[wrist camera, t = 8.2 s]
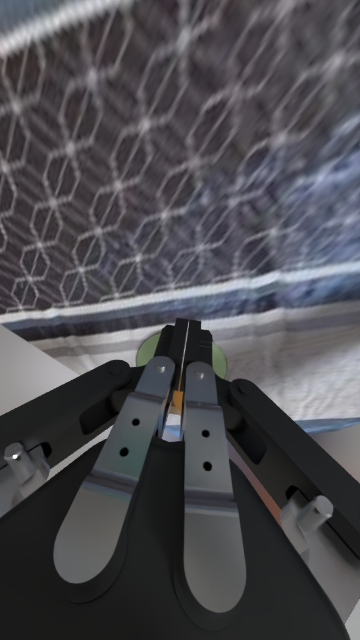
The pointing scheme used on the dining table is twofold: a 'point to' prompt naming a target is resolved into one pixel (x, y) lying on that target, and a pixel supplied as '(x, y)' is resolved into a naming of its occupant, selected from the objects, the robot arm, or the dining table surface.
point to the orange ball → (178, 398)
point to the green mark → (218, 366)
